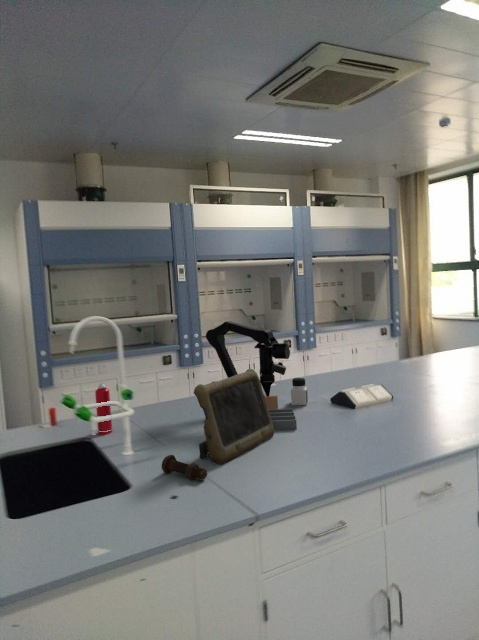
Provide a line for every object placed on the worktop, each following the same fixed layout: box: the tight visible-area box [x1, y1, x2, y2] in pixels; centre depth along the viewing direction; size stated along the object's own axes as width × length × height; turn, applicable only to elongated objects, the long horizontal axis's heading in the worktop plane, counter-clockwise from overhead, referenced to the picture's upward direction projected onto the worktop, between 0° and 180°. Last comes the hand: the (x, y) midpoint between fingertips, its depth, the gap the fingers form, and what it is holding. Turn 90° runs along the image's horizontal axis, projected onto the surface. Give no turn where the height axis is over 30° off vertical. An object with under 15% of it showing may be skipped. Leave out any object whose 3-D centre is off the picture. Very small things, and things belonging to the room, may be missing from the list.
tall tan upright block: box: [264, 394, 279, 409], centre depth 196 cm, size 8×3×8 cm, turn 88°
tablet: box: [193, 368, 275, 465], centre depth 156 cm, size 33×14×25 cm, turn 148°
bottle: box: [94, 383, 113, 436], centre depth 181 cm, size 6×5×20 cm
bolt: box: [161, 454, 208, 481], centre depth 134 cm, size 6×5×15 cm
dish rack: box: [268, 408, 298, 431], centre depth 181 cm, size 14×17×4 cm
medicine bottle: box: [290, 377, 309, 406], centre depth 210 cm, size 7×7×12 cm
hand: (267, 393), depth 195 cm, fingers open, 9 cm apart
